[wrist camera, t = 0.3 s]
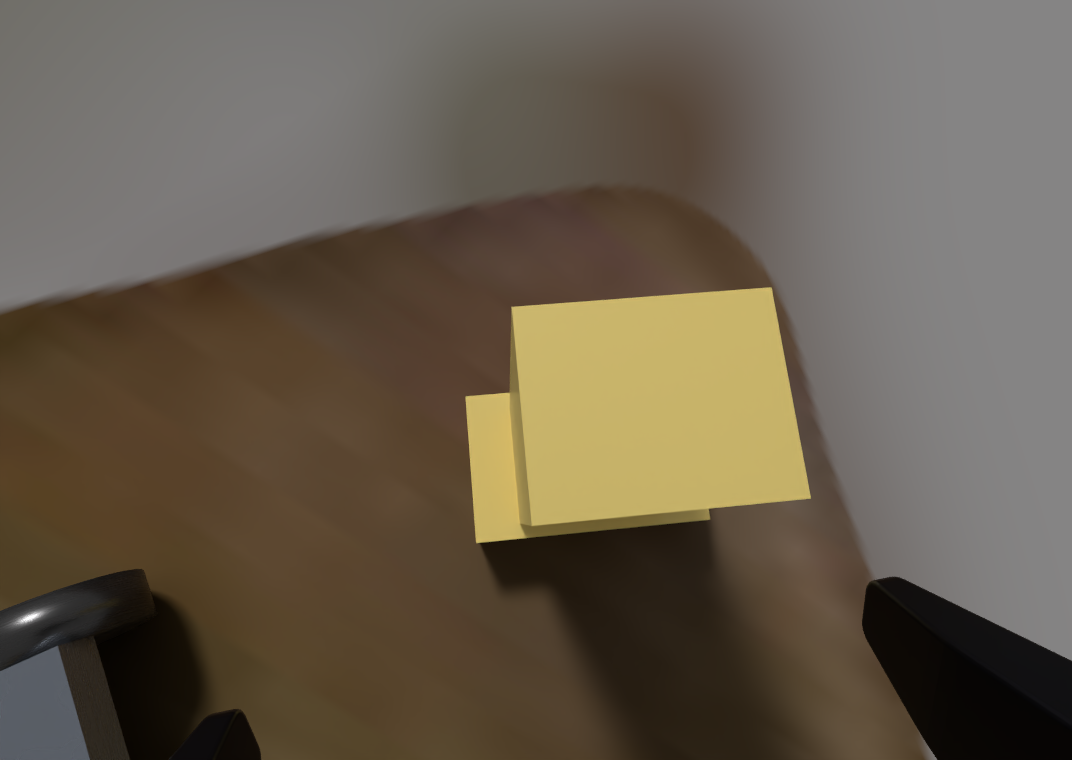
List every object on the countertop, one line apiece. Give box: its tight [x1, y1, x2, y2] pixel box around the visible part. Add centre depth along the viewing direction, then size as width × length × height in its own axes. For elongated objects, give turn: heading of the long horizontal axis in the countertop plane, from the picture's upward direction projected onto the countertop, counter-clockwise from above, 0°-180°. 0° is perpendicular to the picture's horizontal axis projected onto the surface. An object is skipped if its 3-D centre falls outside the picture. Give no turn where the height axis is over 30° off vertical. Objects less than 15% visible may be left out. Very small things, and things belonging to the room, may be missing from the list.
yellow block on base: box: [466, 288, 811, 543], centre depth 17 cm, size 5×8×12 cm, turn 95°
